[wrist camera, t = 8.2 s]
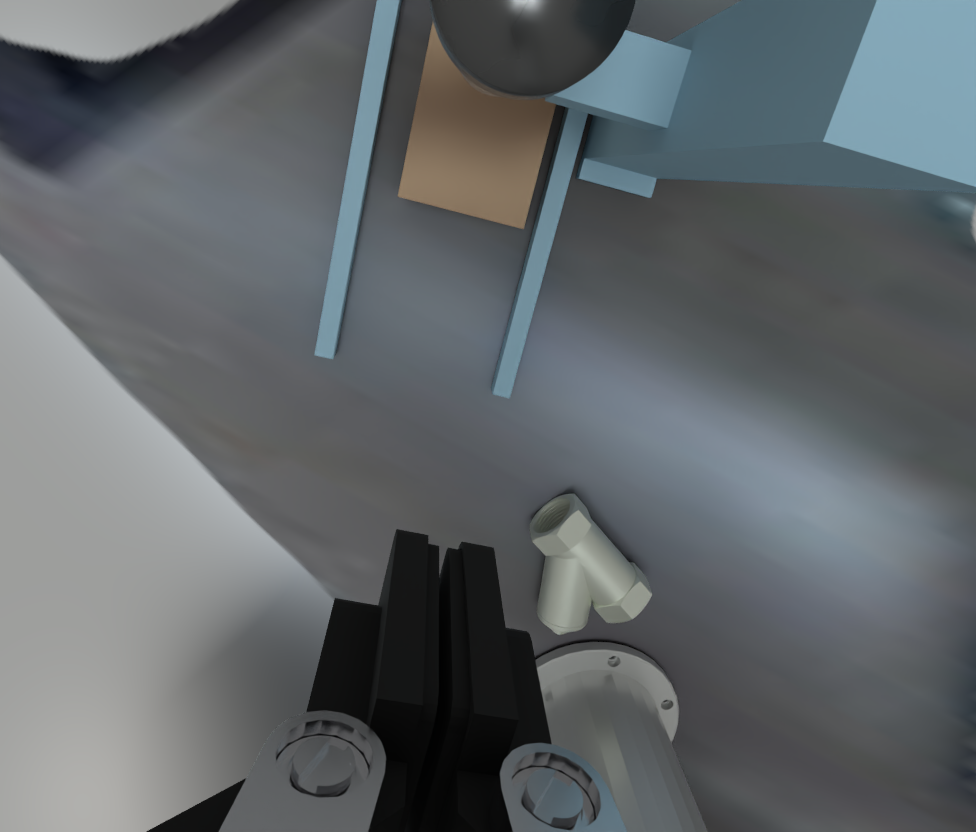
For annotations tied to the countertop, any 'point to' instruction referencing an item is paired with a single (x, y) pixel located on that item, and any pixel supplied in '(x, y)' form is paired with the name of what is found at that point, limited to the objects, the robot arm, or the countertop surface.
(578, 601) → the pipe fitting
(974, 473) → the countertop surface
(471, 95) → the housing
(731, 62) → the press
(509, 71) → the ram
